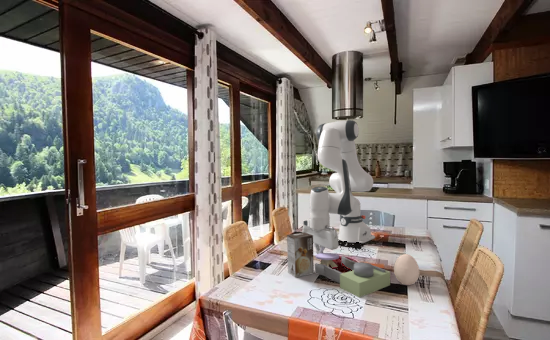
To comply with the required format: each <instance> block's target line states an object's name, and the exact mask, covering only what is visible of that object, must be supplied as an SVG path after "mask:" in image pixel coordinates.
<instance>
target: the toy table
mask: <svg viewBox="0 0 550 340" xmlns="http://www.w3.org/2000/svg"><path fill="white" fill-rule="evenodd" d="M315 259H317V260H320V262H319V263H318V264H322V265H326V266H328V267H330V266H331V267H332V268H333V267H338V265H337V264H336V263H335V262H334V261H333V260H338V259H340V255H339V254H337V253H331V252H323V253H320V254H317V253H316V254H315ZM331 267H330V268H331Z"/></svg>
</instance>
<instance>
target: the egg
mask: <svg viewBox="0 0 550 340" xmlns="http://www.w3.org/2000/svg"><path fill="white" fill-rule="evenodd" d="M393 273H394V276H395V278H396V279H397V281H398V282H399V283H400V284H402V285H404V286H411V285H413V284H415V283H417V282H418V279H419V277H420V267H419V264H418V262H417V260H416V259H415V258H414V257H413V256H412V255H410V254H409V253H403V254H401V255H399V256H397V258H396V260H395V263H394V265H393Z"/></svg>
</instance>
